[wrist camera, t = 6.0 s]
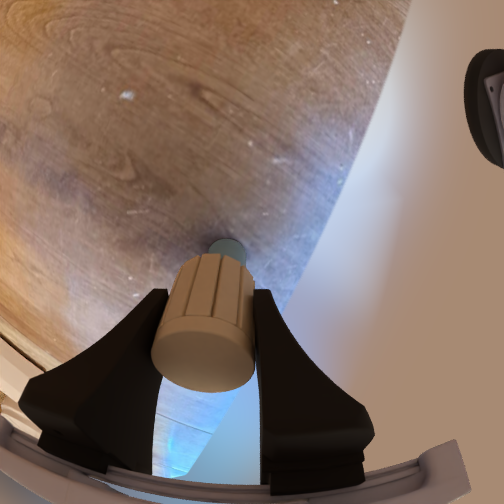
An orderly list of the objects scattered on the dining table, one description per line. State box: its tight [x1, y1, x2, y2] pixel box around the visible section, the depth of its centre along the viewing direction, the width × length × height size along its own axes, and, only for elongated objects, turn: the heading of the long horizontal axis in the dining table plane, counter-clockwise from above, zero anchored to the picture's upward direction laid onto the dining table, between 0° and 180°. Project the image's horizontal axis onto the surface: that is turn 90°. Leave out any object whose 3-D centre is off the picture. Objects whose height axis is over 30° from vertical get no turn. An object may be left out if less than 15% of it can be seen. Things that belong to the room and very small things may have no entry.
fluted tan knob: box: [151, 254, 255, 393], centre depth 11 cm, size 4×4×4 cm
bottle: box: [208, 239, 246, 267], centre depth 18 cm, size 3×3×6 cm
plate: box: [1, 395, 42, 439], centre depth 45 cm, size 27×27×5 cm
